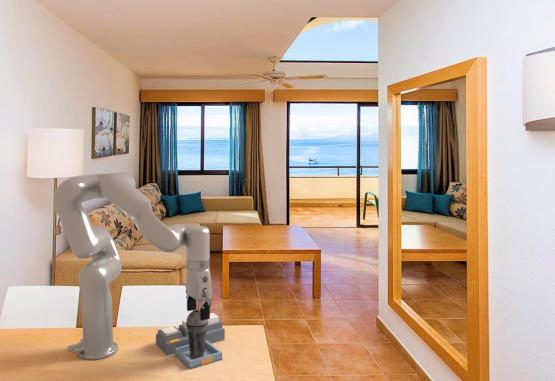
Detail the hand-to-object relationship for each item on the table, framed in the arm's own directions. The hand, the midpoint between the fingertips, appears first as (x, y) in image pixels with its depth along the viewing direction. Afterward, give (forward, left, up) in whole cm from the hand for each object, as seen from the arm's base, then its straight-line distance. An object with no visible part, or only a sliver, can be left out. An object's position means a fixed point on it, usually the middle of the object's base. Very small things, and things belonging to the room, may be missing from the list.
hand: (198, 314), depth 154 cm
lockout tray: (0, 0, -15) cm, 15 cm away
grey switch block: (+3, +12, -15) cm, 19 cm away
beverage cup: (0, 0, -14) cm, 14 cm away
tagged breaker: (-5, +12, -11) cm, 17 cm away
